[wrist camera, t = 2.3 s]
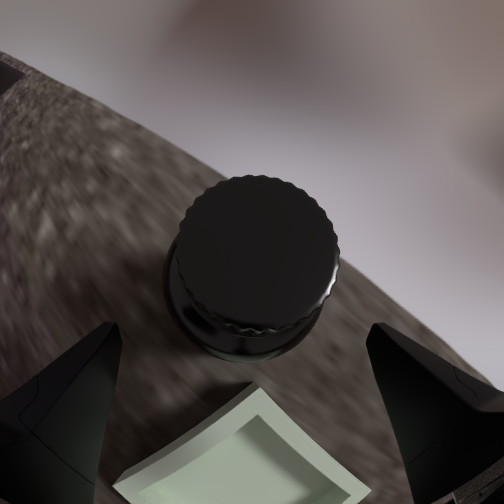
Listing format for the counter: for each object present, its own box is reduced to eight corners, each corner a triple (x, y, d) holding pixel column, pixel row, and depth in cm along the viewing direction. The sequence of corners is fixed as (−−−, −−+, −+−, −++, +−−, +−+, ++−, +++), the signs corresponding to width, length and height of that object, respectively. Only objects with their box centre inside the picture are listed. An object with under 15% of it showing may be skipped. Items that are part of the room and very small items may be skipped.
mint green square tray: (237, 556, 11) (240, 574, 8) (124, 470, 13) (112, 485, 10) (354, 477, 15) (371, 490, 12) (253, 381, 17) (260, 387, 14)
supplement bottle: (170, 338, 17) (98, 317, 6) (202, 248, 20) (189, 126, 9) (268, 368, 17) (347, 392, 6) (292, 276, 20) (376, 185, 9)
